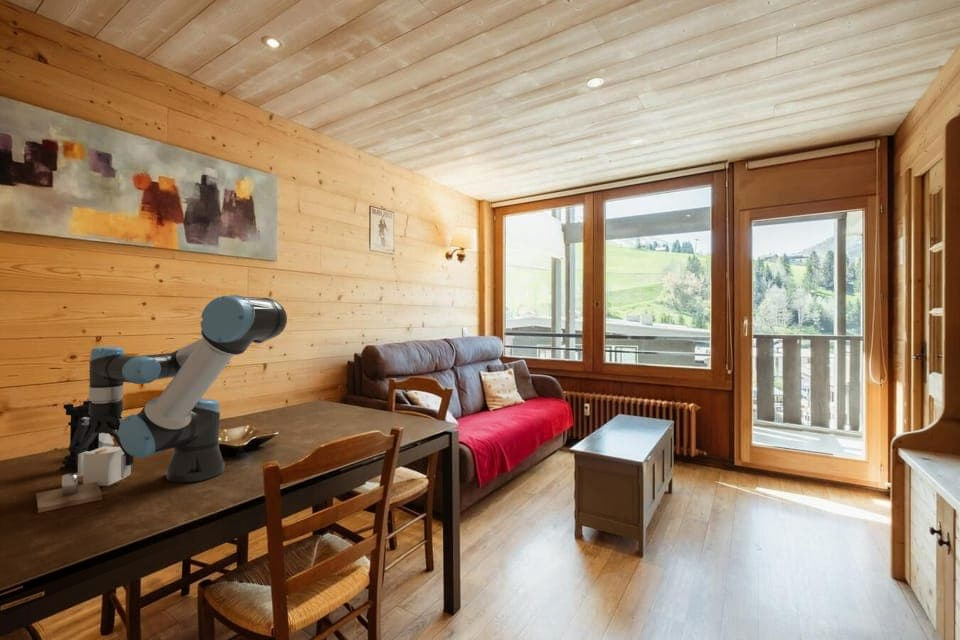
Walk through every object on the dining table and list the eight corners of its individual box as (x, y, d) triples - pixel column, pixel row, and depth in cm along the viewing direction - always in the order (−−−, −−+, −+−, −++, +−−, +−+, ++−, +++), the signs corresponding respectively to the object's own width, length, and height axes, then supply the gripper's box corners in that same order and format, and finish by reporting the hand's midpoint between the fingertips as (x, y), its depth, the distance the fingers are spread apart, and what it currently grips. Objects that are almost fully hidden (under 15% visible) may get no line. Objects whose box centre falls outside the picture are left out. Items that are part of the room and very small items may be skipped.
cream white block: (126, 477, 132) (127, 445, 132) (107, 485, 125) (108, 452, 125) (102, 476, 132) (103, 444, 132) (83, 485, 125) (83, 451, 125)
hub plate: (96, 485, 125) (96, 480, 125) (102, 499, 117) (102, 493, 117) (36, 497, 116) (36, 492, 116) (38, 512, 108) (38, 507, 108)
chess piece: (80, 472, 134) (81, 406, 134) (59, 469, 136) (61, 404, 136) (107, 464, 142) (108, 401, 142) (87, 461, 144) (88, 400, 143)
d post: (76, 490, 119) (77, 472, 118) (77, 494, 116) (78, 475, 116) (61, 493, 116) (61, 474, 116) (62, 497, 114) (62, 478, 114)
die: (120, 453, 155) (111, 427, 157) (110, 447, 147) (102, 420, 150) (89, 465, 150) (81, 439, 153) (78, 460, 143) (70, 432, 146)
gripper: (157, 399, 132) (155, 472, 132) (75, 396, 131) (73, 469, 132) (138, 404, 124) (136, 481, 125) (51, 401, 124) (50, 479, 124)
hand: (104, 475), depth 128 cm, fingers open, 11 cm apart
